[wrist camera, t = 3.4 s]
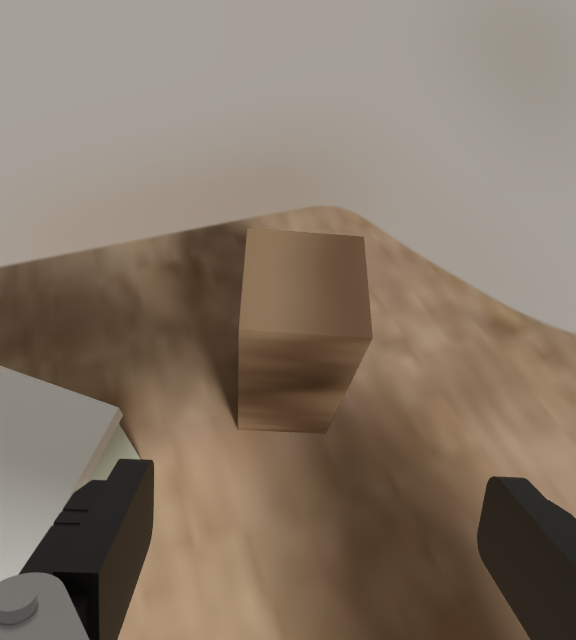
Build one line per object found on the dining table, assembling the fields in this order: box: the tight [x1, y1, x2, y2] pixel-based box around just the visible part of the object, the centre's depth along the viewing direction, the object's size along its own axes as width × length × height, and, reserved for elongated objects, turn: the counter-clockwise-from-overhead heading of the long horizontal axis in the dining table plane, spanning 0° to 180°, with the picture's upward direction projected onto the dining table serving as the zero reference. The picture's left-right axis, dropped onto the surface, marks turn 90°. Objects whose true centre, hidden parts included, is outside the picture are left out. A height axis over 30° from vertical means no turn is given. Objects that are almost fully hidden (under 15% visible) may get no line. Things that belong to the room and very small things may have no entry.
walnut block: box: [238, 228, 373, 434], centre depth 21 cm, size 4×4×10 cm
